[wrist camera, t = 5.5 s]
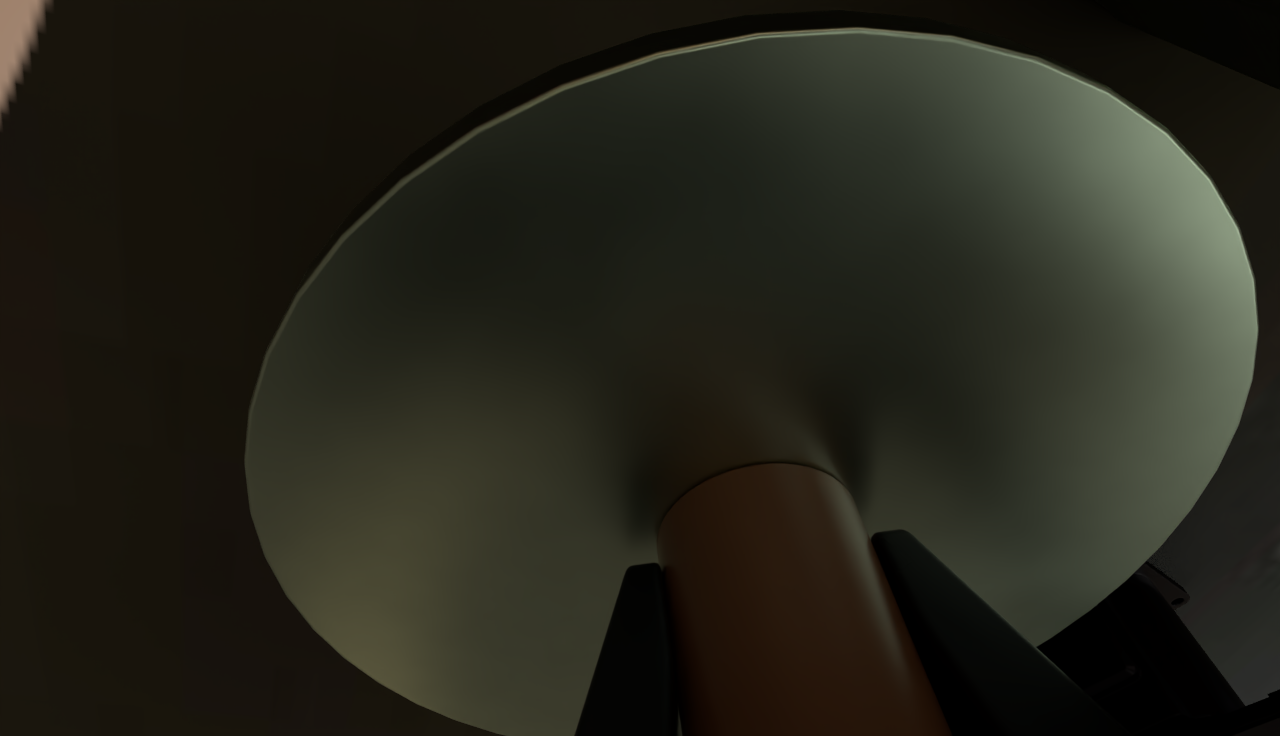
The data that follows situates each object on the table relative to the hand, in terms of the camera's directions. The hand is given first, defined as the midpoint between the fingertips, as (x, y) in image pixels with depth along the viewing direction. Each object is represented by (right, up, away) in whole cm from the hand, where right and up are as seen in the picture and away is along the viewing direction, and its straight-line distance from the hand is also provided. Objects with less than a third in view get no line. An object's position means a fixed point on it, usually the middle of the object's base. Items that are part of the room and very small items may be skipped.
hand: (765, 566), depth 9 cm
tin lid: (0, +1, +1) cm, 1 cm away
